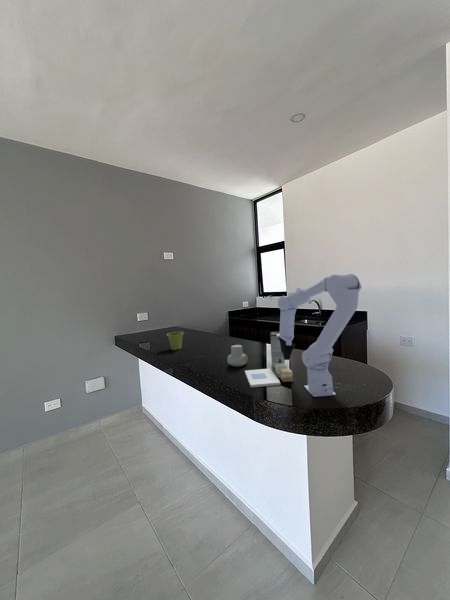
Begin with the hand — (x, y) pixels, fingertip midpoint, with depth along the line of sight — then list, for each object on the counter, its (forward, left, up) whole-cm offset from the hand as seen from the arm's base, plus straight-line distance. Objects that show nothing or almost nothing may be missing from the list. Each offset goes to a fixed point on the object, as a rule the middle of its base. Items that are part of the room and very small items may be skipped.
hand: (285, 355), depth 106 cm
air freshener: (+25, +18, -10) cm, 32 cm away
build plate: (+3, +10, -10) cm, 14 cm away
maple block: (-1, 0, -10) cm, 10 cm away
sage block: (+8, 0, -10) cm, 13 cm away
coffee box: (+20, -2, -10) cm, 22 cm away
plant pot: (+74, +57, -10) cm, 94 cm away
